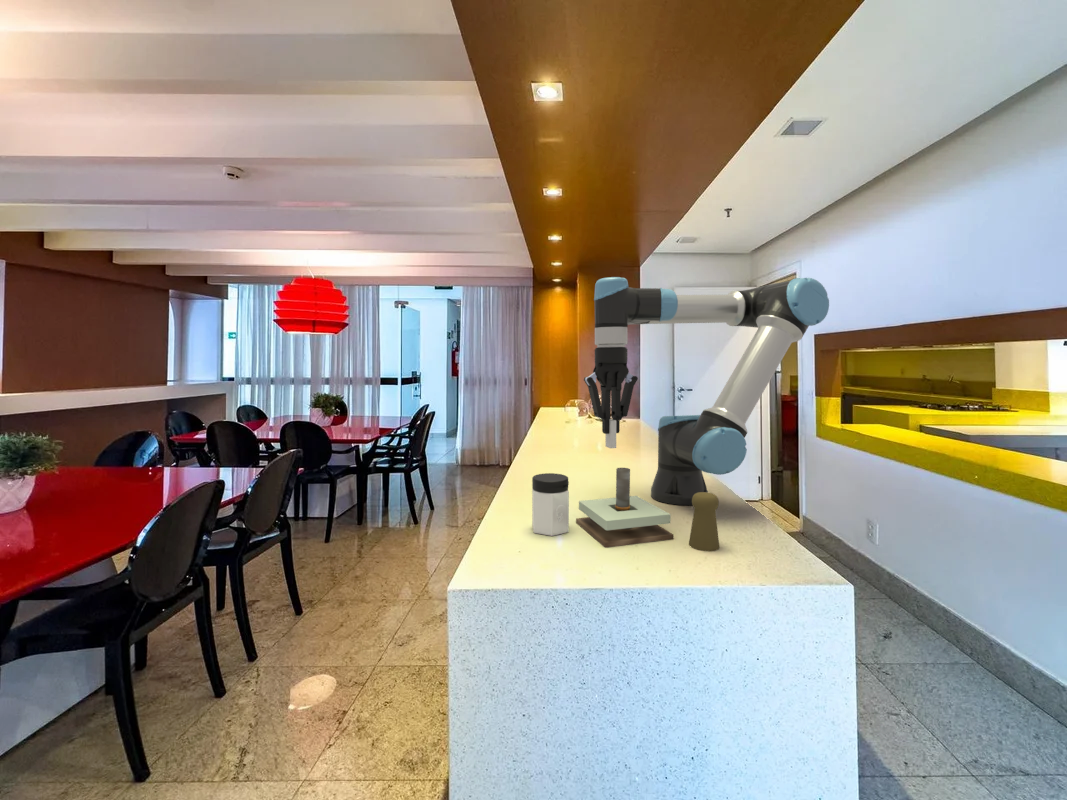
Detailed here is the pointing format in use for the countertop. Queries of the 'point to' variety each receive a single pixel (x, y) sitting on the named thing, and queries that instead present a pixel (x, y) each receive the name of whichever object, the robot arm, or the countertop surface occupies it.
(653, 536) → the post
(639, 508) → the square plate with hole
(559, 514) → the jar
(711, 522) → the cork
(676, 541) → the countertop surface
